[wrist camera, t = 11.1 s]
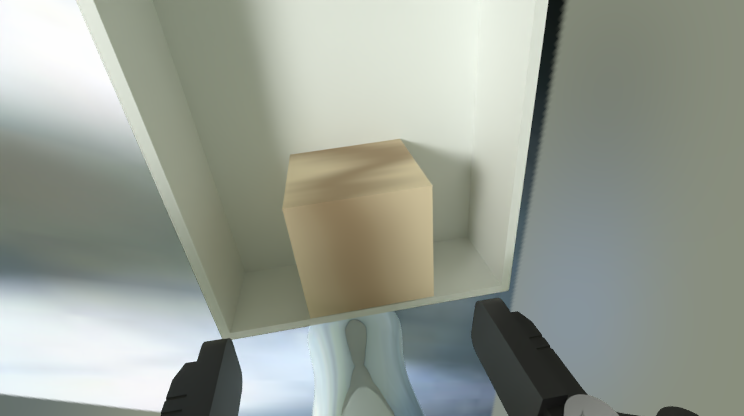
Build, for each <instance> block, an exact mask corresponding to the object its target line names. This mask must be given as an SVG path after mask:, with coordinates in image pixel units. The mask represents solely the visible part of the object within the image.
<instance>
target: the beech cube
mask: <svg viewBox="0 0 744 416" xmlns="http://www.w3.org/2000/svg"><path fill="white" fill-rule="evenodd" d="M282 210H283V214H284V218H285V222H286V226H287V230H288V234H289V237H290V241H291V245H292V249H293V253H294V257H295V261H296V265H297V269H298V272H299V276H300V280H301V284H302V288H303V292H304V296H305V300H306V304H307V308H308V311H309V315H310V319H311V318H317V317H322V316H328V315H333V314H339V313H344V312H350V311H355V310H361V309H366V308H372V307H377V306H383V305H388V304H394V303H399V302H405V301H410V300H416V299H421V298H426V297H432V296H434V265H433V191H432V184H431V183H430V181H429V180H428V178H427V177H426V175H425V174H424V173H423V171H422V170H421V168H420V167H419V165H418V164H417V162H416V161H415V160H414V158H413V157H412V155H411V154H410V152H409V151H408V149H407V148H406V147H405V145H404V144H403V142H402V141H401V139H395V140H388V141H381V142H374V143H367V144H360V145H353V146H346V147H339V148H332V149H326V150H319V151H312V152H305V153H298V154H291V155H290V158H289V165H288V172H287V179H286V186H285V193H284V200H283V207H282Z"/></svg>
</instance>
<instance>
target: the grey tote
mask: <svg viewBox="0 0 744 416" xmlns="http://www.w3.org/2000/svg"><path fill="white" fill-rule="evenodd" d="M76 2H77V4H78V6H79V9H80V11H81V13H82V16H83V18H84V20H85V23H86V25H87V27H88V30H89V32H90V34H91V36H92V39H93V41H94V43H95V46H96V48H97V50H98V53H99V55H100V57H101V60H102V62H103V64H104V67H105V69H106V71H107V73H108V76H109V78H110V80H111V83H112V85H113V87H114V90H115V92H116V94H117V97H118V99H119V101H120V104H121V106H122V108H123V111H124V113H125V115H126V117H127V120H128V122H129V124H130V127H131V129H132V131H133V134H134V136H135V138H136V141H137V143H138V145H139V148H140V150H141V152H142V154H143V157H144V159H145V161H146V164H147V166H148V168H149V171H150V173H151V175H152V178H153V180H154V182H155V185H156V187H157V189H158V191H159V194H160V196H161V198H162V201H163V203H164V205H165V208H166V210H167V212H168V215H169V217H170V219H171V222H172V224H173V226H174V228H175V231H176V233H177V235H178V238H179V240H180V242H181V245H182V247H183V249H184V252H185V254H186V256H187V259H188V261H189V263H190V265H191V268H192V270H193V272H194V275H195V277H196V279H197V282H198V284H199V286H200V289H201V291H202V293H203V296H204V298H205V300H206V302H207V305H208V307H209V309H210V312H211V314H212V316H213V319H214V321H215V323H216V326H217V328H218V330H219V333H220V335H221V337H222V339H226V338H231V340H233V339H239V338H244V337H250V336H256V335H261V334H267V333H273V332H278V331H284V330H290V329H295V328H301V327H306V326H312V325H318V324H323V323H329V322H335V321H340V320H346V319H352V318H357V317H363V316H369V315H374V314H380V313H385V312H391V311H397V310H402V309H408V308H414V307H419V306H425V305H431V304H436V303H442V302H448V301H453V300H459V299H464V298H470V297H476V296H481V295H487V294H493V293H498V292H504V291H509V284H510V277H511V270H512V262H513V255H514V248H515V241H516V233H517V226H518V219H519V211H520V204H521V197H522V190H523V182H524V175H525V168H526V161H527V153H528V146H529V139H530V131H531V124H532V117H533V110H534V102H535V95H536V88H537V80H538V73H539V66H540V59H541V51H542V44H543V37H544V30H545V22H546V15H547V8H548V0H76ZM395 139H401V141H402V142H403V144H404V145H405V147H406V148H407V149H408V151H409V152H410V154H411V155H412V157H413V158H414V160H415V161H416V162H417V164H418V165H419V167H420V168H421V170H422V171H423V173H424V174H425V175H426V177H427V178H428V180H429V181H430V183H431V184H432V191H433V265H434V296H432V297H426V298H421V299H416V300H410V301H405V302H399V303H394V304H388V305H383V306H377V307H372V308H366V309H361V310H355V311H350V312H344V313H339V314H333V315H328V316H322V317H317V318H311V319H310V315H309V311H308V308H307V304H306V300H305V296H304V292H303V288H302V284H301V280H300V276H299V272H298V269H297V265H296V261H295V257H294V253H293V249H292V245H291V241H290V237H289V234H288V230H287V226H286V222H285V218H284V214H283V210H282V207H283V200H284V193H285V186H286V179H287V172H288V165H289V158H290V155H291V154H298V153H305V152H312V151H319V150H326V149H332V148H339V147H346V146H353V145H360V144H367V143H374V142H381V141H388V140H395Z"/></svg>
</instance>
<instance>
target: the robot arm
mask: <svg viewBox="0 0 744 416" xmlns="http://www.w3.org/2000/svg"><path fill="white" fill-rule="evenodd" d="M471 338H472V343H473V347H474V350H475V352H476V354H477V356H478V358H479V360H480V362H481V363H482V365H483V367H484V369H485V371H486V373H487V375H488V377H489V379H490V381H491V383H492V385H493V387H494V389H495V390H496V392H497V394H498V396H499V398H500V400H501V402H502V404H503V406H504V408H505V410H506V411H507V414H508V415H509V416H637V415H630V414H623V413H618V412H616V411H615V410H613V408H611V407H610V406H609V405H608V404H606V403H605V402H603V401H602V400H600V399H598V398H595V397H593V396H589V395H588V394H587V393H586V392H585V391H584V390H583V389H582V387H581V386H580V385H579V384H578V382H577V381H576V379H575V378H574V377H573V376H572V374H571V373H570V372H569V370H568V369H567V368H566V367H565V365H564V364H563V362H562V361H561V360H560V358H559V357H558V356H557V354H556V353H555V352H554V350H553V349H551V348H550V345H549V344H548V342H547V341H546V340H545V338H543V337H542V334H541V333H540V332H539V330H538V329H537V328H536V326H535V325H534V324H533V323H532V322H531V321H530V320H529V319H527V318H526V317H525V316H523V315H522V314H521V313H519V312H510V311H509V309H508V308H507V306H506V305H505V303H504V302H503V301H502V300H501V299H500V298H495V299H488V300H482V301H477V302H476V304H475V310H474V317H473V324H472V331H471ZM241 393H242V372H241V368H240V365H239V361H238V358H237V355H236V352H235V349H234V345H233V342H232V340H231V338H226V339H220V340H213V341H207V342H204V343H203V344H202V347H201V350H200V353H199V356H198V360H197V361H196V362H190V363H185V364H184V366H183V367H182V368H181V370H180V371H179V372H178V374H177V375H176V376H175V377H174V379H173V380H172V383H171V386H170V389H169V391H168V394H167V397H166V401H165V403H164V405H163V408H162V411H161V416H238V412H239V405H240V399H241ZM656 416H698V415H697V414H695V413H693V412H691V411H689V410H686V409H683V408H679V407H673V406H672V407H664V408H662V409H660V411H659V412H658V413H657V415H656Z"/></svg>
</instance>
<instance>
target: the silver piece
mask: <svg viewBox="0 0 744 416" xmlns="http://www.w3.org/2000/svg"><path fill="white" fill-rule="evenodd" d="M307 341H308V348H309V353H310V358H311V362H312V367H313V373H314V402H313V408H312V415H311V416H426V415H425V413H424V411H423V409H422V407H421V405H420V402H419V400H418V398H417V396H416V394H415V391H414V389H413V387H412V385H411V382H410V379H409V376H408V373H407V370H406V367H405V362H404V356H403V343H402V329H401V324H400V320H399V318H398V316H397V315H396V313H395V312H394V311H391V312H385V313H380V314H374V315H369V316H363V317H357V318H352V319H346V320H340V321H335V322H329V323H323V324H318V325H312V326H310V327H309V331H308V336H307Z"/></svg>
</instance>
